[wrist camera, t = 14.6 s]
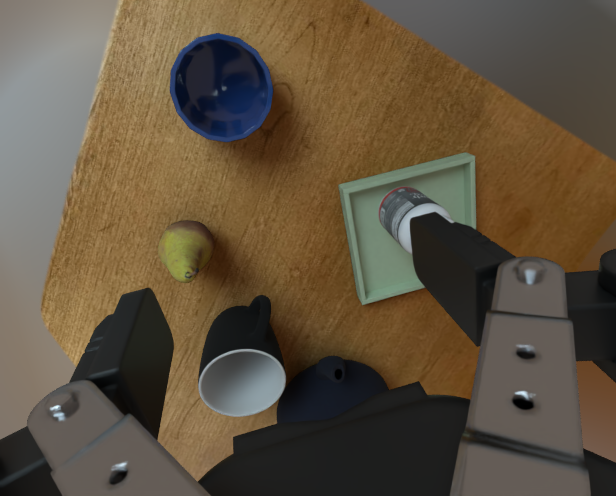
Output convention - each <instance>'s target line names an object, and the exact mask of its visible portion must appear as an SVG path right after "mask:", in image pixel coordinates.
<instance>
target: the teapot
mask: <svg viewBox="0 0 616 496" xmlns="http://www.w3.org/2000/svg"><path fill="white" fill-rule="evenodd" d="M388 390H389V389H388V387H387V385H386V383H385V381H384V380H383V378H382V377H381V376H380V375H379V374H378V373H377V372H376V371H375V370H374V369H372V368H371V367H369V366H367V365H365V364H363V363H360V362H357V361H352V360H343V359H342V358H341V357H338V356H328V357H325V358H323V359H321V360H320V361H319V362H318V363H317V364H316V365H313V366H311V367H309V368H307V369H305V370H304V371H302V372H301V373H299V374H298V375H297V376H296V377H295V378H294V379H292V381H291V382H290V383H289V384H288V385H287V387H286V388H285V389H284V391H283V393H282V395H281V397H280V400H279V403H278V407H277V424H278V423H286V422H299V421H312V420H325V419H330V418H333V417H335V416H337V415H339V414H341V413H342V412H344V411H346V410H348V409H350V408H351V407H353V406H355V405H357V404H359V403H360V402H362V401H364V400H366V399H368V398H369V397H371V396H373V395H375V394H378V393H382V392H385V391H388Z"/></svg>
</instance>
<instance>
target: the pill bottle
mask: <svg viewBox="0 0 616 496" xmlns="http://www.w3.org/2000/svg"><path fill="white" fill-rule="evenodd" d="M431 212H437V213H438V214H440V215H441V216H442V217H444V218H445V219H447V220H448V221H449V222H451V223H454V221H453V220H452V219H451V217H450V215H449V213H448V212H447V211H446V210H445V209H444V208H443V207H442V206H440V205H439V204H437V203H436V202H434V201H433V200H431V199H430V198H428V197H427V196H426V195H424V194H423V193H421V192H420V191H418V190H417V189H415V188H412V187H408V186H401V187H397V188H395V189H393V190H391V191H389V192H388V193H387V194H386V195H385V196H384V197H383V199H382V200H381V202H380V205H379V208H378V217H379V221H380V223H381V225H382V226H383V227H384V228H385V229H386V230H387V232H388V233H389V234H390V235H391V236H392V237H393V238H394V239H395V240H396V241H397V242H398V243H399V244H400V246H401V247H402V248H403V249H404V250H406V251H407V252H408V253H410V254H412V246H411V236H410V219H411V218H412V217H416V216H420V215H424V214H427V213H431Z"/></svg>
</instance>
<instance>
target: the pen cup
mask: <svg viewBox="0 0 616 496" xmlns="http://www.w3.org/2000/svg"><path fill="white" fill-rule="evenodd" d="M170 94H171V97H172V100H173V103H174V106H175V109H176V112H177V113H178V114H179V116H180V117H181V118H182V119H183V121H184V122H185V123H186V124H187V126H188V127H189V128H190V129H191V130H193V131H195V132H196V133H198V134H200V135H201V136H203V137H205V138H207V139H209V140H216V141H222V142H231V141H235V140H239V139H243V138H246V137H247V136H249V135H250V134H251V133H253V132H254V131H255V130H257V129H258V128H259V127H260V126H261V125H262V123H263V122H264V120H265V118H266V117H267V115H268V113H269V111H270V109H271V103H272V96H273V86H272V81H271V77H270V72H269V69H268V67H267V66H266V64H265V62H264V61H263V59H262V58H261V56H260V55H259V53H258V52H257V51H256V50H255V49H254V48H252V47H251V46H250V45H248V44H247V43H245V42H244V41H242V40H241V39H240V38H237V37H233V36H228V35H224V34H219V33H216V34H211V35H207V36H202V37H198V38H196V39H195V40H193V41H192V42H191V43H190V44H188V45H187V46H186V47H185V48H183V49H182V50H181V51H180V53H179V55H178V57H177V59H176V61H175V63H174V65H173V67H172V69H171V79H170Z"/></svg>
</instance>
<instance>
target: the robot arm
mask: <svg viewBox="0 0 616 496" xmlns="http://www.w3.org/2000/svg"><path fill="white" fill-rule="evenodd" d="M410 236H411V246H412V256H413V265H414V269H415V272H416V275H417V277H418V279H419V280H420V282H421V283H422V284H423V285H424V286H425V287H426V289H427V290H428V291H429V292H430V293H431V294H432V295H433V297H434V298H435V299H436V300H437V301H438V302H439V304H440V305H441V306H442V307H443V308H444V309H445V310H446V312H447V313H448V314H449V315H450V316H451V317H452V318H453V320H454V321H455V322H456V323H457V324H458V325H459V326H460V328H461V329H462V330H463V331H464V332H465V333H466V334H467V336H468V337H469V338H470V339H471V340H472V341H473V342H474V344H475V345H476V346H477V347H478V346H480V351H479V357H478V362H477V368H476V373H475V379H474V384H473V390H472V395H471V400H469V399H465V398H461V397H456V396H448V395H427V394H426V393H425V391H424V389H423V387H422V386H421V384H420V382H419V381H418V382H415V383H412V384H408V385H405V386H402V387H398V388H395V389H392V390H388V391H385V392H382V393H378V394H375V395H373V396H371V397H369V398H368V399H366V400H364V401H362V402H360V403H359V404H357V405H355V406H353V407H351V408H350V409H348V410H346V411H344V412H342V413H341V414H339V415H337V416H335V417H333V418H330V419H325V420H312V421H299V422H286V423H278V424H275V425H271V426H268V427H265V428H261V429H258V430H255V431H251V432H248V433H245V434H241V435H238V436H235V437H233V451H234V454H232V455H230V456H229V457H227V458H225V459H224V460H222V461H221V462H220V463H218V464H217V465H216V466H214V467H213V468H212V469H211V470H210V471H208V472H207V473H206V474H205V475H204V476H203V477H202V478H201V479H200V480H199V481H198V482H197V481H196V480H195V479H194V478H193V477H192V476H191V475H190V474H189V473H188V472H187V471H186V470H185V469H184V468H183V467H182V466H181V465H180V464H179V463H178V461H177V460H176V459H175V458H174V457H173V456H172V455H171V454H170V453H169V452H168V451H167V450H166V449H165V448H164V447H163V446H162V445H161V444H160V443H159V442H158V441H157V439H158V433H159V428H160V422H161V417H162V411H163V406H164V400H165V395H166V389H167V384H168V378H169V372H170V367H171V361H172V356H173V350H174V343H173V337H172V333H171V330H170V328H169V326H168V323H167V321H166V319H165V317H164V314H163V312H162V310H161V308H160V305H159V303H158V301H157V299H156V296H155V294H154V293H153V291H152V290H151V289H150V288H145V289H141V290H138V291H134V292H130V293H126V294H123V295H122V296H121V298H120V300H119V303H118V305H117V307H116V309H115V312H114V314H111V315H108V316H107V317H106V318H105V319H104V320H103V321H102V322H101V323H100V324H99V325H98V326H97V327H96V328H95V330H94V332H93V334H92V336H91V339H90V343H88V345H87V347H86V349H85V353H83V355H82V357H81V359H80V361H79V363H78V365H77V367H76V369H75V372H74V374H73V376H72V378H71V380H70V382H69V383H68V384H66V385H63V386H62V387H59V388H57V389H56V390H54V391H53V392H51V393H50V394H48V395H47V396H46V397H44V398H43V399H42V400H41V401H40V402H39V403H38V404H37V405H36V406H35V407H34V408H33V410H32V411H31V413H30V415H29V417H28V420H27V426H26V427H25V428H23V429H21V430H19V431H17V432H15V433H13V434H11V435H9V436H7V437H5V438H3V439H1V440H0V496H616V463H615V462H613V461H611V460H608V459H606V458H604V457H601V456H599V455H597V454H595V453H593V452H590V451H588V450H586V449H584V448H583V444H582V430H581V418H580V406H579V395H578V382H577V369H576V361H593V362H594V363H595V364H596V365H597V366H598V367H599V368H600V369H601V370H602V371H604V372H605V373H606V374H607V375H608V376H609V377H610V378H611V379H612V380H613V381H614V382H616V249H613V250H610V251H608V252H606V253H604V254H603V255H602V256H601V258H600V264H599V270H597V271H584V272H569V273H564V270H563V268H562V267H561V266H560V265H558V264H557V263H555V262H553V261H550V260H547V259H543V258H538V257H517V258H516V257H515V256H514V255H512V254H511V253H509V252H508V251H506V250H505V249H503V248H502V247H500V246H499V245H497V244H496V243H495V242H493V241H490V239H489V238H487V237H486V236H484V235H482V234H481V233H480V232H478V231H477V230H476V229H474V228H473V227H471V226H468V225H464V224H461V223H457V222H454V223H451V222H449V221H448V220H447V219H445V218H444V217H442V216H441V215H440V214H438V213H437V212H431V213H427V214H424V215H420V216H416V217H412V218H411V219H410Z"/></svg>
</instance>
